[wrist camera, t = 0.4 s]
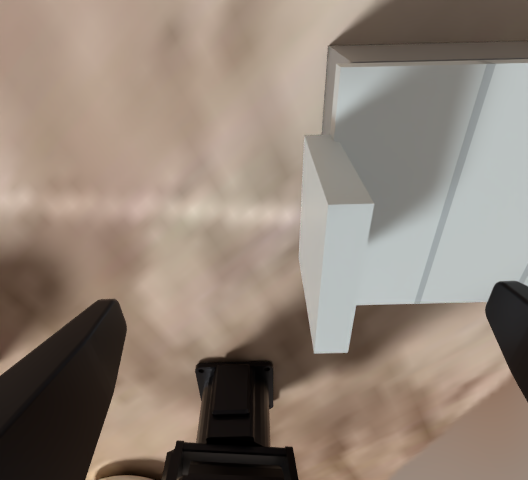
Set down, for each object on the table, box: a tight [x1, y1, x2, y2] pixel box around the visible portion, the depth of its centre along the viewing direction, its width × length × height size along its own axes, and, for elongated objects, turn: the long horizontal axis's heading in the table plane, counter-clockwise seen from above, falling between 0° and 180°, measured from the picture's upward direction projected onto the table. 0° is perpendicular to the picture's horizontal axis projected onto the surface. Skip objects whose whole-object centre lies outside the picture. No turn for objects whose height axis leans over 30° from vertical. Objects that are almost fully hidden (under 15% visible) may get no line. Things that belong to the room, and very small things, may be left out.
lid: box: [299, 59, 528, 354], centre depth 13 cm, size 11×16×6 cm
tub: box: [322, 41, 528, 135], centre depth 18 cm, size 11×14×5 cm
